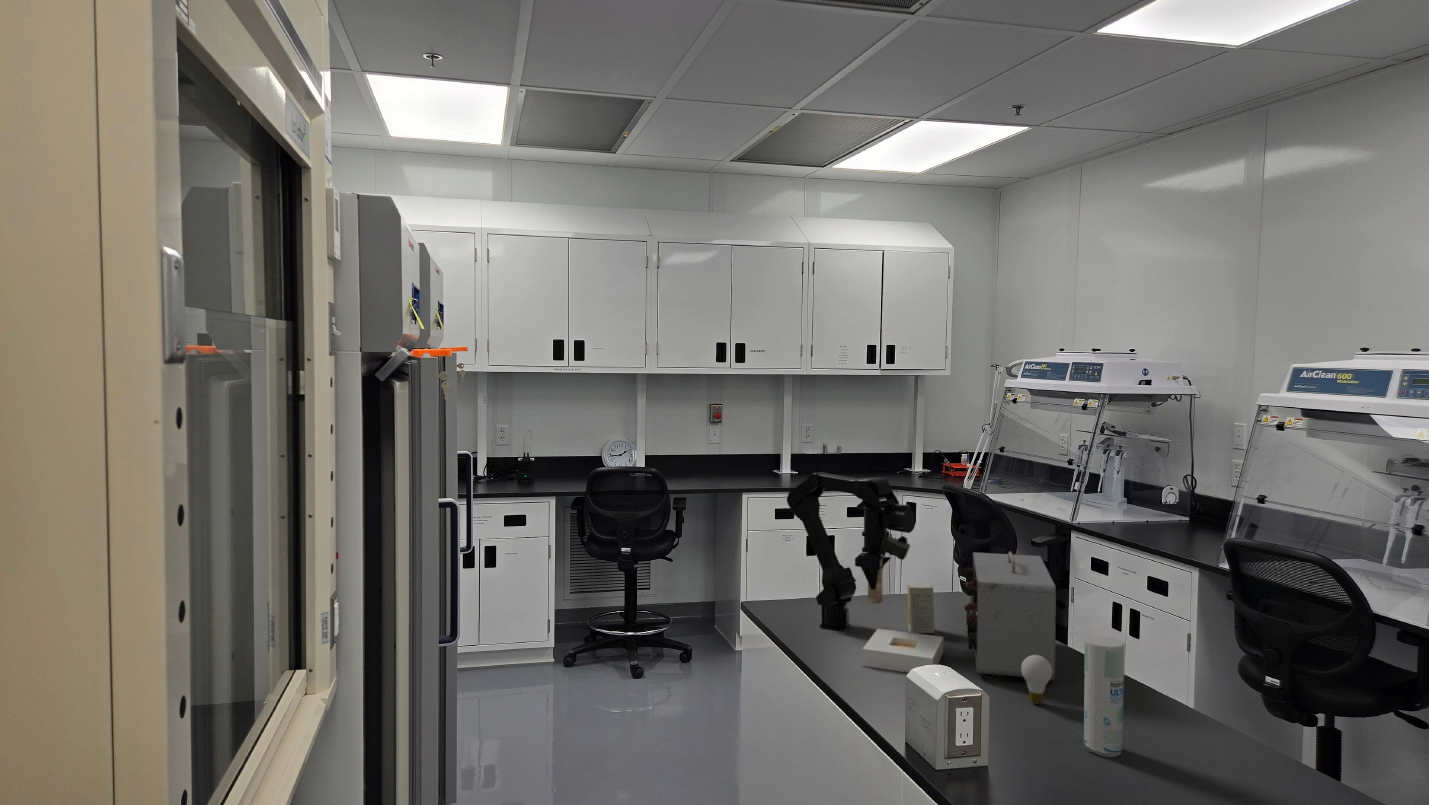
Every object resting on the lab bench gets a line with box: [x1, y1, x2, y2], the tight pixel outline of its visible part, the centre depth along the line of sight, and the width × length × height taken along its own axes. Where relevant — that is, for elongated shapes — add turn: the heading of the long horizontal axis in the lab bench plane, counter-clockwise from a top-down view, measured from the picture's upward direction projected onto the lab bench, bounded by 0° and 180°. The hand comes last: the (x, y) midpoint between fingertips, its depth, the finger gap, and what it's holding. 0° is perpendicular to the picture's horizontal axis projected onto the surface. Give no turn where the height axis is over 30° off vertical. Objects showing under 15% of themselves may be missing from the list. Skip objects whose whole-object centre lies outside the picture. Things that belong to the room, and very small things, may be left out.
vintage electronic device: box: [964, 550, 1057, 683], centre depth 194 cm, size 32×18×25 cm, turn 164°
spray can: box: [1083, 634, 1126, 753], centre depth 147 cm, size 6×6×20 cm
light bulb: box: [1021, 655, 1052, 704], centre depth 168 cm, size 6×6×10 cm
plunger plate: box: [894, 644, 915, 648], centre depth 194 cm, size 5×5×1 cm
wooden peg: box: [867, 568, 883, 604], centre depth 209 cm, size 4×4×10 cm
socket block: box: [861, 628, 944, 673], centre depth 194 cm, size 16×16×4 cm
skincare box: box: [907, 583, 935, 634], centre depth 215 cm, size 6×4×12 cm
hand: (875, 587), depth 209 cm, fingers closed on wooden peg, 4 cm apart
